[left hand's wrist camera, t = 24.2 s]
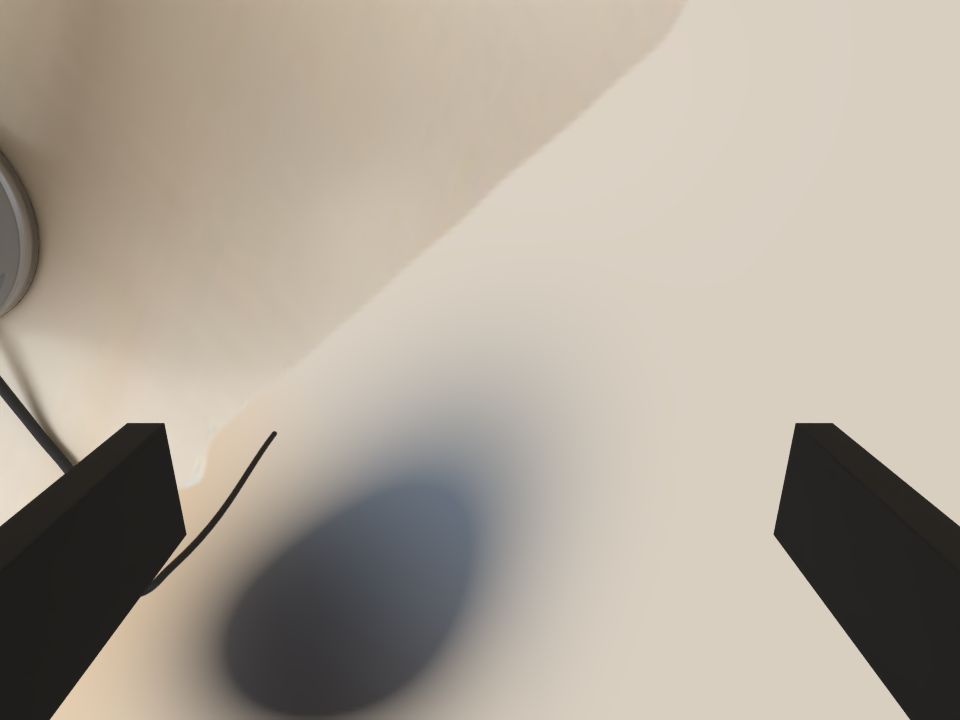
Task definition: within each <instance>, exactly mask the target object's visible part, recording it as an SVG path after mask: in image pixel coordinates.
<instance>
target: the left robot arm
mask: <svg viewBox="0 0 960 720" xmlns="http://www.w3.org/2000/svg"><path fill="white" fill-rule="evenodd" d="M38 253H39V236H38V229H37V223H36V218H35V214H34V211H33V208H32V205H31V202H30V199H29V197H28V194H27V192H26V190H25V188H24V186H23V184H22V182H21V180H20V178H19V177H18V175H17V173H16V172H15V170H14V169H13V167H12V166H11V164H10V163H9V162H8V160H7V159H6V157H5V156H4V155H3V154H2V153H1V151H0V317H1V316H3V315H4V314H6V313H7V312H8V311H10V310H11V309H12V308H13V307H14V306H15V305H16V304H17V303H18V302H19V301H20V300H21V299H22V297H23V296H24V295H25V293H26V291H27V290H28V288H29V286H30V284H31V282H32V280H33V277H34V274H35V271H36V267H37V261H38ZM0 395H1V397H2V398H3V399H4V400H5V402H6V403H7V404H8V405H9V407H10V408H11V409H12V410H13V412H14V413H15V414H16V415H17V416H18V418H19V419H20V420H21V421H22V423H23V424H24V425H25V426H26V428H27V429H28V430H29V431H30V433H31V434H32V435H33V436H34V438H35V439H36V440H37V441H38V442H39V444H40V445H41V446H42V447H43V448H44V449H45V451H46V452H47V453H48V454H49V455H50V456H51V457H52V459H53V460H54V461H55V462H56V463H57V464H58V466H59V467H60V468H61V469H62V471H63V472H64V473H65V474H64V475H63V476H62V477H61V478H59V479H58V480H57V481H56V482H54V483H53V484H52V485H51V486H50V487H48V488H47V489H46V490H45V491H43V492H42V493H41V494H40V495H38V496H37V497H36V498H35V499H33V500H32V501H31V502H30V503H29V504H27V505H26V506H25V507H24V508H22V509H21V510H20V511H19V512H17V513H16V514H15V515H14V516H13V517H11V518H10V519H9V520H8V521H6V522H5V523H4V524H3V525H1V526H0V720H50V719H51V717H52V716H53V715H54V713H55V712H56V710H57V709H58V708H59V706H60V705H61V704H62V702H63V701H64V700H65V698H66V697H67V696H68V694H69V693H70V692H71V690H72V689H73V688H74V686H75V685H76V683H77V682H78V681H79V679H80V678H81V677H82V675H83V674H84V673H85V671H86V670H87V669H88V667H89V666H90V664H91V663H92V662H93V660H94V659H95V658H96V656H97V655H98V654H99V652H100V651H101V650H102V648H103V647H104V645H105V644H106V643H107V641H108V640H109V639H110V637H111V636H112V635H113V633H114V632H115V631H116V629H117V628H118V626H119V625H120V624H121V622H122V621H123V620H124V618H125V617H126V616H127V614H128V613H129V612H130V610H131V609H132V608H133V606H134V605H135V604H136V602H137V601H138V599H139V598H140V597H142V596H145V595H147V594H149V593H150V592H152V591H153V590H155V589H156V588H157V587H158V586H159V585H160V584H161V583H162V582H163V581H164V580H165V579H166V578H167V577H168V575H169V574H170V573H171V572H172V571H174V570H175V569H176V568H177V567H178V566H179V565H180V564H181V563H182V562H183V561H184V560H185V559H186V558H187V557H188V556H189V555H190V554H191V553H192V552H193V551H194V550H195V549H196V548H197V546H198V545H199V544H200V543H201V542H202V541H203V540H204V539H205V538H206V536H207V535H208V534H209V533H210V532H211V530H212V529H213V528H214V527H215V525H216V524H217V523H218V521H219V520H220V519H221V518H222V516H223V515H224V513H225V512H226V511H227V509H228V508H229V507H230V505H231V504H232V502H233V501H234V499H235V498H236V496H237V495H238V493H239V492H240V490H241V488H242V487H243V485H244V484H245V482H246V480H247V479H248V477H249V476H250V474H251V473H252V471H253V469H254V468H255V466H256V465H257V463H258V461H259V460H260V458H261V457H262V455H263V454H264V452H265V451H266V449H267V448H268V446H269V445H270V443H271V442H272V441H273V439H274V438H275V437H276V435H277V432H276V431H273V432H272V433H271V434H270V436H269V437H268V438H267V440H266V441H265V442H264V444H263V445H262V447H261V448H260V450H259V451H258V453H257V454H256V456H255V457H254V459H253V460H252V462H251V463H250V465H249V466H248V468H247V469H246V471H245V472H244V474H243V476H242V477H241V479H240V480H239V482H238V483H237V485H236V486H235V488H234V489H233V491H232V492H231V494H230V495H229V497H228V498H227V499H226V501H225V502H224V504H223V505H222V506H221V508H220V509H219V511H218V512H217V513H216V514H215V516H214V517H213V518H212V519H211V521H210V522H209V523H208V525H207V526H206V527H205V528H204V529H203V530H202V531H201V532H200V534H199V535H198V536H197V537H196V538H195V539H194V540H193V541H192V542H191V543H190V544H189V545H188V546H187V547H186V548H185V549H184V551H182V552H181V553H180V554H179V555H178V556H177V557H176V558H175V559H174V560H173V561H172V562H171V563H170V564H169V565H167V566H166V567H165V568H164V569H163V570H162V571H161V572H160V573H159V574H158V572H159V571H160V570H161V568H162V567H163V566H164V564H165V563H166V562H167V560H168V559H169V557H170V556H171V555H172V553H173V552H174V551H175V549H176V548H177V547H178V545H179V544H180V543H181V541H182V540H183V539H184V537H185V536H186V530H185V525H184V520H183V515H182V510H181V505H180V500H179V495H178V490H177V485H176V480H175V475H174V470H173V465H172V460H171V455H170V449H169V444H168V439H167V434H166V429H165V424H164V423H127V424H126V425H125V426H123V427H122V428H121V429H120V430H118V431H117V432H116V433H115V434H114V435H112V436H111V437H110V438H109V439H107V440H106V441H105V442H104V443H102V444H101V445H100V446H99V447H98V448H96V449H95V450H94V451H93V452H91V453H90V454H89V455H88V456H86V457H85V458H84V459H83V460H82V461H80V462H79V463H78V464H77V465H75V466H74V467H73V465H72V464H71V463H70V462H69V460H68V459H67V458H66V457H65V455H64V454H63V453H62V452H61V451H60V450H59V448H58V447H57V446H56V445H55V444H54V443H53V442H52V440H51V439H50V438H49V437H48V436H47V434H46V433H45V432H44V431H43V429H42V428H41V427H40V425H39V424H38V423H37V422H36V420H35V419H34V418H33V417H32V415H31V414H30V413H29V412H28V410H27V409H26V408H25V407H24V405H23V404H22V403H21V402H20V400H19V399H18V398H17V397H16V395H15V394H14V393H13V391H12V390H11V389H10V388H9V386H8V385H7V384H6V383H5V381H4V380H3V379H2V377H1V376H0ZM774 536H775V537H776V539H777V540H778V541H779V543H780V544H781V545H782V547H783V548H784V549H785V551H786V552H787V553H788V555H789V556H790V557H791V559H792V560H793V562H794V563H795V564H796V566H797V567H798V568H799V570H800V571H801V572H802V574H803V575H804V576H805V578H806V579H807V581H808V582H809V583H810V585H811V586H812V587H813V589H814V590H815V591H816V593H817V594H818V595H819V597H820V598H821V599H822V601H823V602H824V604H825V605H826V606H827V608H828V609H829V610H830V612H831V613H832V614H833V616H834V617H835V618H836V620H837V621H838V622H839V624H840V625H841V626H842V628H843V629H844V631H845V632H846V633H847V635H848V636H849V637H850V639H851V640H852V641H853V643H854V644H855V645H856V647H857V648H858V650H859V651H860V652H861V654H862V655H863V656H864V658H865V659H866V660H867V662H868V663H869V664H870V666H871V667H872V669H873V670H874V671H875V673H876V674H877V675H878V677H879V678H880V679H881V681H882V682H883V683H884V685H885V686H886V687H887V689H888V690H889V692H890V693H891V694H892V696H893V697H894V698H895V700H896V701H897V702H898V704H899V705H900V706H901V708H902V709H903V710H904V712H905V713H906V715H907V716H908V717H909V719H910V720H960V526H959V525H957V524H956V523H955V522H954V521H952V520H951V519H950V518H949V517H947V516H946V515H945V514H944V513H943V512H941V511H940V510H939V509H938V508H936V507H935V506H934V505H933V504H931V503H930V502H929V501H928V500H926V499H925V498H924V497H923V496H921V495H920V494H919V493H918V492H917V491H915V490H914V489H913V488H912V487H910V486H909V485H908V484H907V483H906V482H904V481H903V480H902V479H901V478H899V477H898V476H897V475H896V474H894V473H893V472H892V471H891V470H890V469H888V468H887V467H886V466H885V465H883V464H882V463H881V462H880V461H878V460H877V459H876V458H875V457H874V456H872V455H871V454H870V453H869V452H867V451H866V450H865V449H864V448H862V447H861V446H860V445H859V444H858V443H856V442H855V441H854V440H853V439H851V438H850V437H849V436H848V435H846V434H845V433H844V432H843V431H842V430H840V429H839V428H838V427H837V426H835V425H834V424H833V423H796V424H795V429H794V434H793V439H792V444H791V449H790V455H789V460H788V465H787V470H786V475H785V480H784V485H783V490H782V495H781V500H780V505H779V510H778V515H777V520H776V525H775V530H774ZM157 574H158V575H157ZM156 575H157V576H156ZM155 576H156V578H155ZM154 578H155V579H154Z"/></svg>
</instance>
